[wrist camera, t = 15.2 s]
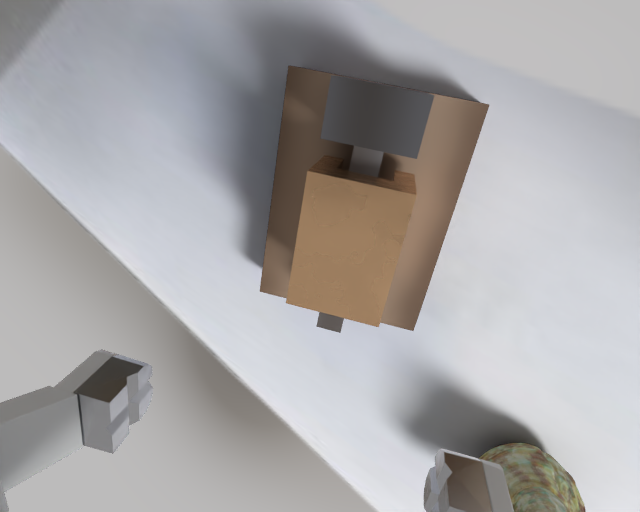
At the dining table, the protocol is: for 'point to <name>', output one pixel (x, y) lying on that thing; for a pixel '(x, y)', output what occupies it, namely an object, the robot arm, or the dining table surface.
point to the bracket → (372, 170)
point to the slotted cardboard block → (349, 240)
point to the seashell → (535, 479)
